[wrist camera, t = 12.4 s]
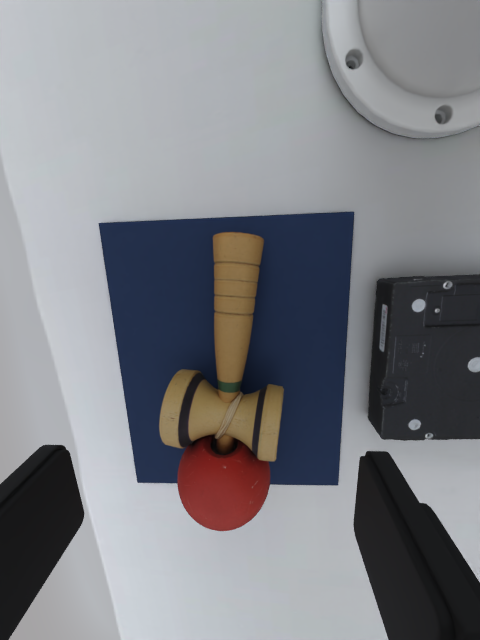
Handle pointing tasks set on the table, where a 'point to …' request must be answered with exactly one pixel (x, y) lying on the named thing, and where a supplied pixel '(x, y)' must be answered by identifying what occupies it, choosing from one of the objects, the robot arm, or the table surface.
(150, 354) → the napkin
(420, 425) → the disk drive
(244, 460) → the kendama
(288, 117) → the table surface
